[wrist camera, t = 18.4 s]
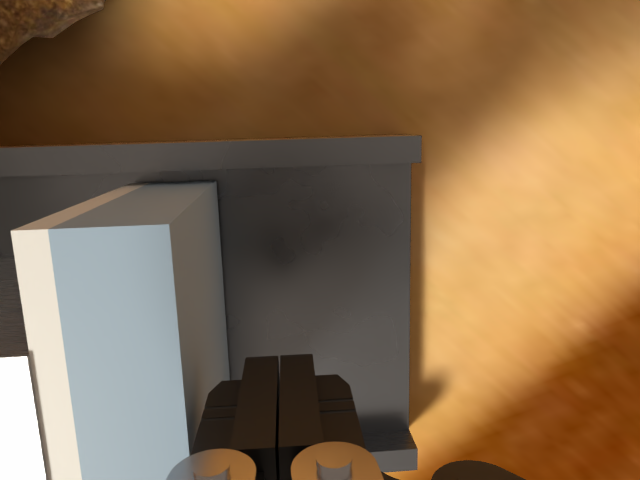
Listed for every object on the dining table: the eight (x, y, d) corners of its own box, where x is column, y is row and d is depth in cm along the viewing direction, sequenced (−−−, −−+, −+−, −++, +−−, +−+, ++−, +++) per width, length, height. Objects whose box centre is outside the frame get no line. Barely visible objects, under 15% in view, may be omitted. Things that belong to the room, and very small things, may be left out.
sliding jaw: (216, 180, 17) (169, 224, 9) (233, 436, 18) (206, 645, 11) (130, 183, 16) (10, 230, 9) (156, 441, 18) (75, 659, 11)
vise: (403, 134, 18) (527, 142, 9) (402, 433, 20) (499, 666, 12) (-165, 151, 17) (-657, 178, 8) (-96, 469, 19) (-415, 764, 10)
